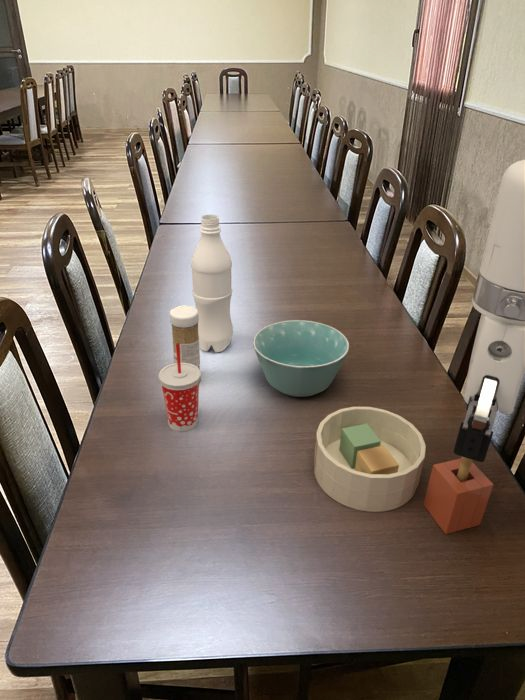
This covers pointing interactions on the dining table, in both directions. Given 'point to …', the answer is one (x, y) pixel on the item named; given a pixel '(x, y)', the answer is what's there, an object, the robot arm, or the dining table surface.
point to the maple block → (376, 461)
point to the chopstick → (464, 468)
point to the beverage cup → (181, 393)
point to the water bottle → (212, 287)
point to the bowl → (300, 356)
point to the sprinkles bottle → (186, 334)
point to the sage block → (357, 442)
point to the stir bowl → (365, 487)
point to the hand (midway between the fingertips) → (474, 433)
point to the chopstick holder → (457, 496)
